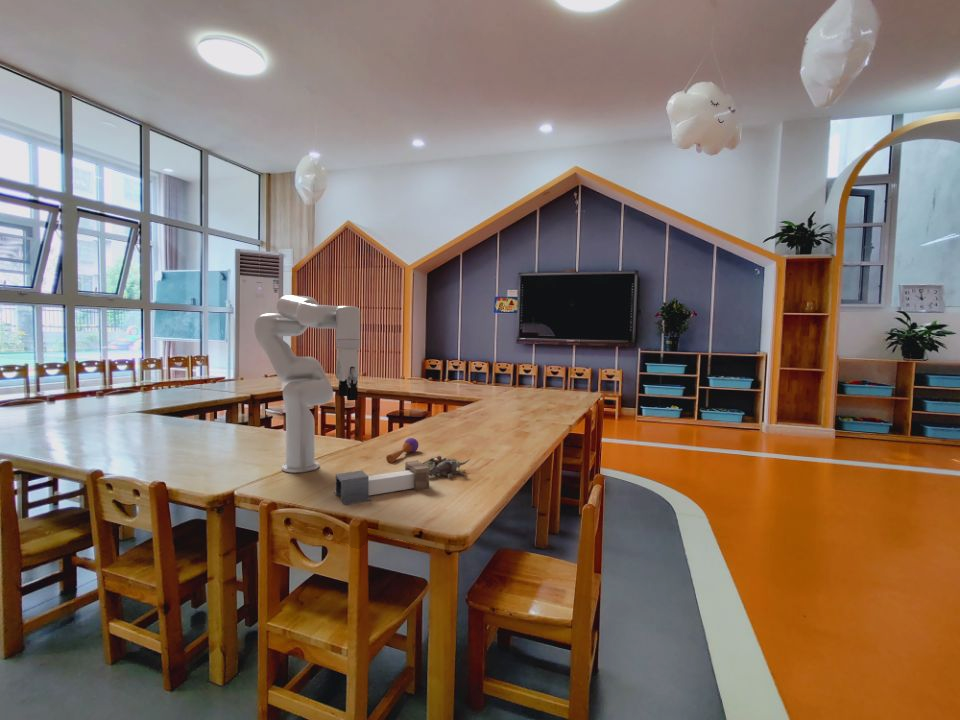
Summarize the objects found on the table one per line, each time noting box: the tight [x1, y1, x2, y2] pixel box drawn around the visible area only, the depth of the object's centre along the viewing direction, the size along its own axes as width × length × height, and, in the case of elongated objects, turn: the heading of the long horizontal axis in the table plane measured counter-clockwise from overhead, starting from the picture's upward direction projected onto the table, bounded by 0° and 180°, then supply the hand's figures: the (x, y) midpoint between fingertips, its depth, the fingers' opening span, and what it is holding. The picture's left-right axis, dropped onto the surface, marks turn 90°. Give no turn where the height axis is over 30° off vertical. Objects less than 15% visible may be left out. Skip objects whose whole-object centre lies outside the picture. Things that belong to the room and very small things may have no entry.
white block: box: [368, 470, 414, 497], centre depth 149 cm, size 5×18×5 cm, turn 121°
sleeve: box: [333, 470, 372, 506], centre depth 143 cm, size 11×8×7 cm
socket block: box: [404, 460, 430, 492], centre depth 154 cm, size 9×4×7 cm, turn 31°
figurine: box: [422, 455, 471, 479], centre depth 169 cm, size 20×6×17 cm
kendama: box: [385, 437, 419, 464], centre depth 189 cm, size 6×6×20 cm
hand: (347, 397), depth 153 cm, fingers open, 9 cm apart
